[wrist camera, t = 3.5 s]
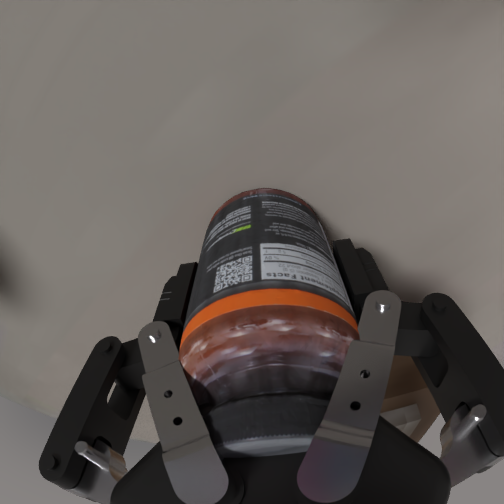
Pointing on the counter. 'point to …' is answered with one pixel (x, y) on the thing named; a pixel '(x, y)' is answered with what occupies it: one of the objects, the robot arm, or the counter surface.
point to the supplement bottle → (266, 325)
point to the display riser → (408, 399)
